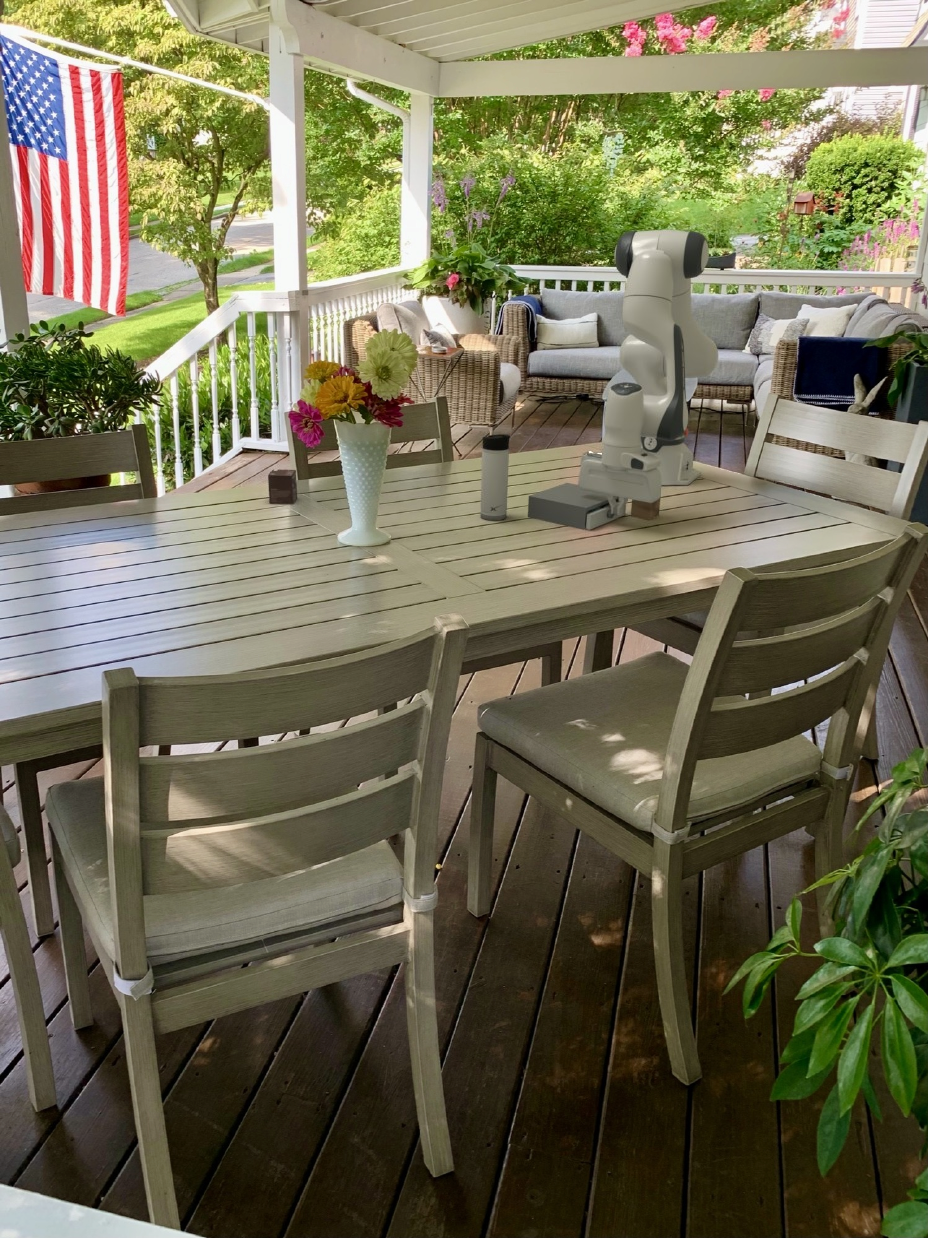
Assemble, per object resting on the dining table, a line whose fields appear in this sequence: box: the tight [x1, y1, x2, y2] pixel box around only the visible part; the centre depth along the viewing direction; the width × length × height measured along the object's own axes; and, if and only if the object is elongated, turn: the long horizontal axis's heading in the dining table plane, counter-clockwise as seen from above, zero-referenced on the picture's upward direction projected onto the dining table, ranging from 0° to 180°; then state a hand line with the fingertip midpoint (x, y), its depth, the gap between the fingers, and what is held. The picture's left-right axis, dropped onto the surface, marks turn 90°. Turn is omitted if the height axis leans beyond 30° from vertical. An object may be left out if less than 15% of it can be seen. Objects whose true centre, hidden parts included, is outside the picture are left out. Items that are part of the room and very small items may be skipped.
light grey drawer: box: [586, 501, 627, 531], centre depth 244 cm, size 17×17×4 cm
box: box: [267, 469, 298, 505], centre depth 251 cm, size 6×6×7 cm
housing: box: [527, 482, 619, 530], centre depth 244 cm, size 17×16×5 cm
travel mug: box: [479, 433, 511, 521], centre depth 239 cm, size 6×7×20 cm
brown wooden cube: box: [630, 495, 662, 521], centre depth 245 cm, size 5×5×5 cm
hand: (616, 514), depth 238 cm, fingers closed
